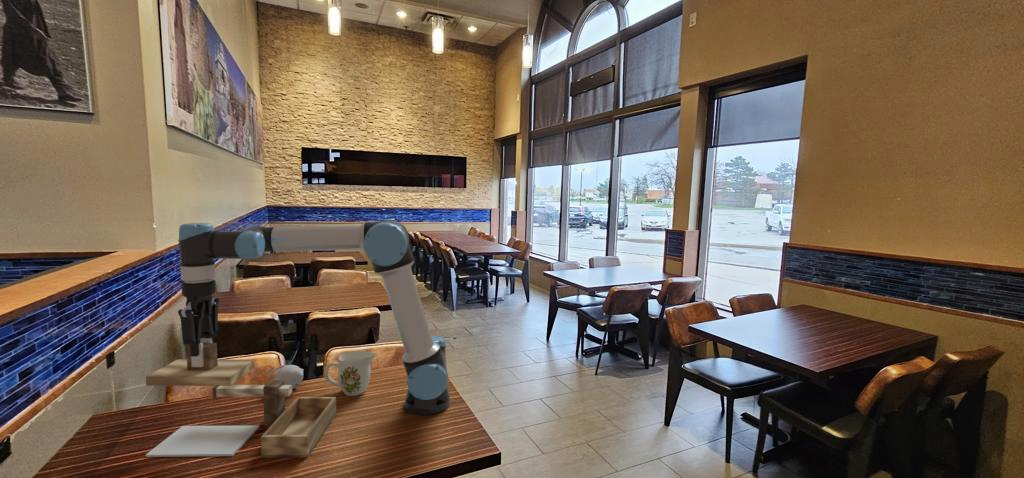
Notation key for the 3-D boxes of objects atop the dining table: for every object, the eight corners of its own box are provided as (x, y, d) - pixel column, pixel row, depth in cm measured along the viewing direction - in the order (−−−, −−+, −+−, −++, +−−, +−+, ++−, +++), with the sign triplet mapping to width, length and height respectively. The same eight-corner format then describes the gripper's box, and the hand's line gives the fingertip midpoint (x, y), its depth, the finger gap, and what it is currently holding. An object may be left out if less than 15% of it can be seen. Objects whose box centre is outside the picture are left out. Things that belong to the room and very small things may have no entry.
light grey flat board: (259, 427, 128) (259, 425, 127) (232, 456, 114) (232, 453, 114) (182, 427, 126) (182, 425, 126) (145, 456, 112) (145, 454, 112)
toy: (277, 393, 158) (267, 403, 144) (267, 371, 158) (257, 379, 144) (313, 376, 162) (307, 384, 148) (304, 355, 162) (297, 361, 148)
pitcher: (330, 385, 156) (329, 349, 155) (380, 384, 158) (380, 348, 157) (320, 399, 145) (319, 361, 144) (374, 398, 147) (374, 360, 146)
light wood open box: (336, 414, 136) (335, 377, 135) (307, 457, 114) (307, 413, 113) (274, 415, 135) (273, 377, 133) (234, 458, 113) (232, 413, 111)
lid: (178, 367, 123) (176, 337, 122) (254, 367, 124) (253, 338, 123) (146, 385, 111) (144, 352, 110) (230, 385, 113) (229, 353, 112)
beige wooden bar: (292, 393, 132) (292, 383, 131) (288, 398, 129) (287, 388, 128) (219, 393, 130) (219, 383, 130) (212, 398, 127) (212, 388, 127)
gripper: (203, 274, 123) (207, 352, 125) (161, 286, 107) (166, 376, 109) (230, 274, 123) (233, 352, 126) (192, 287, 107) (197, 376, 110)
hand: (202, 363), depth 117 cm, fingers closed on lid, 3 cm apart
